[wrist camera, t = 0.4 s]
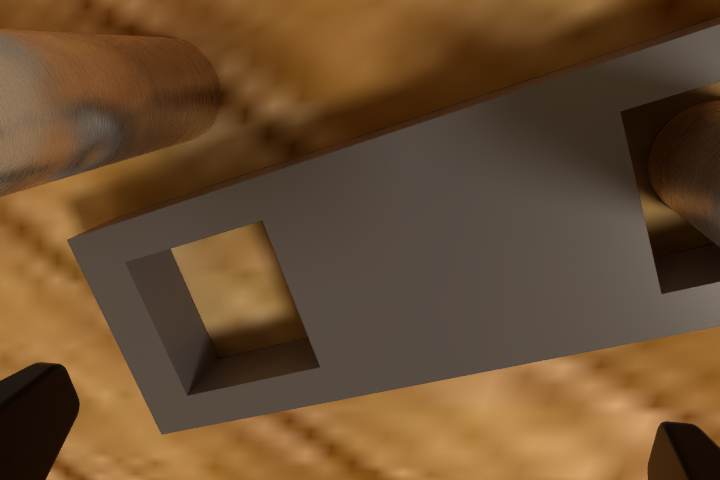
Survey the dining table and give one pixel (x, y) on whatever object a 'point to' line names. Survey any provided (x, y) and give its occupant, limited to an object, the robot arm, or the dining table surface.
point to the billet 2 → (690, 167)
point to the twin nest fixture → (424, 248)
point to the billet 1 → (95, 101)
